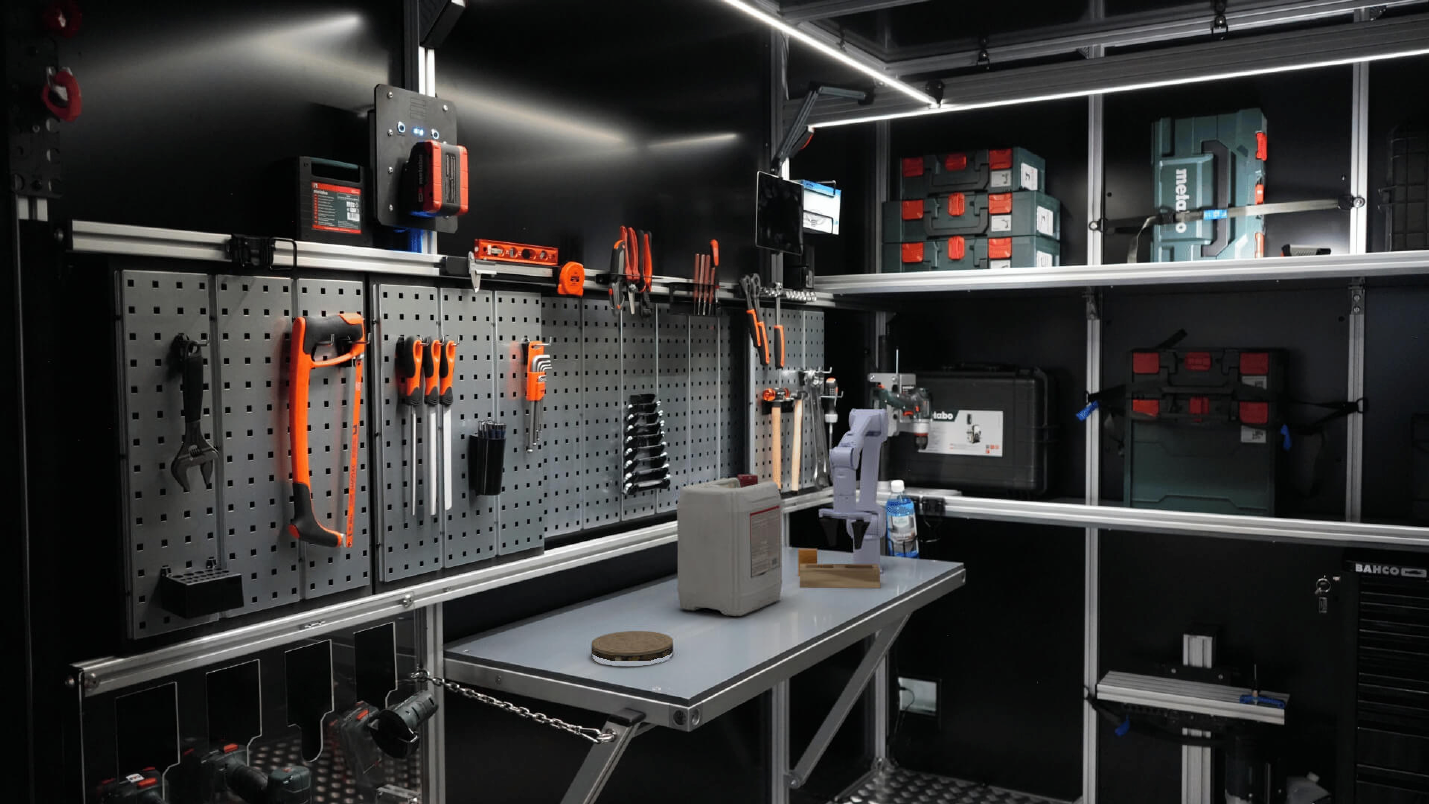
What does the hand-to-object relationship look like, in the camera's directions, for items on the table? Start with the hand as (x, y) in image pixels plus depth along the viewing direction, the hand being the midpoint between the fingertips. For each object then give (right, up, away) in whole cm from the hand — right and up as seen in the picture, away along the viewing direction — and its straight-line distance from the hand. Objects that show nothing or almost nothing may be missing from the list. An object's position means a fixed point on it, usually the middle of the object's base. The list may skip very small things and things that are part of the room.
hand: (845, 547), depth 257 cm
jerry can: (-29, -11, -20) cm, 37 cm away
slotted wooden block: (-1, -10, +2) cm, 10 cm away
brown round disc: (-49, -13, -60) cm, 79 cm away
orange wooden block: (-8, -9, +13) cm, 18 cm away
